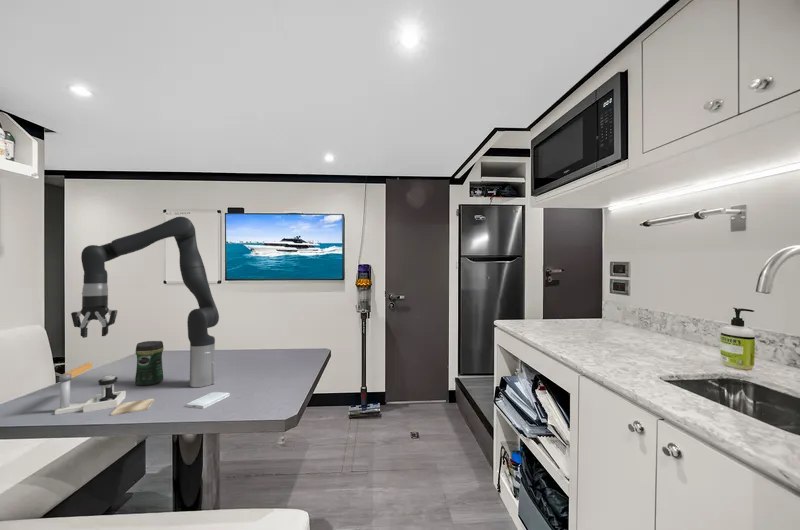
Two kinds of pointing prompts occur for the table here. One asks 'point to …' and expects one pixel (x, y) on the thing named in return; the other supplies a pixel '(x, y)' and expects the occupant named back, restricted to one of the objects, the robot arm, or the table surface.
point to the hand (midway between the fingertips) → (94, 336)
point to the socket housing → (85, 406)
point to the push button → (108, 387)
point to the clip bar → (75, 372)
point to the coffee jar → (149, 363)
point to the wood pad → (132, 406)
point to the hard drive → (207, 400)
